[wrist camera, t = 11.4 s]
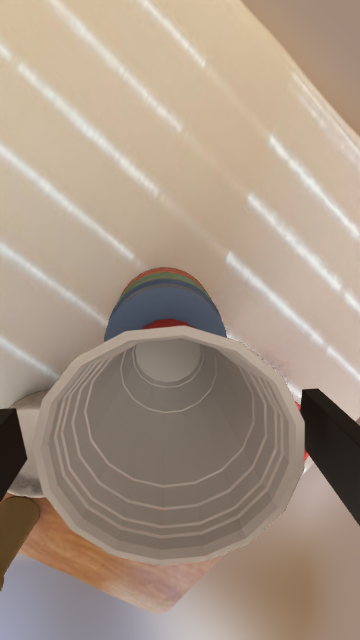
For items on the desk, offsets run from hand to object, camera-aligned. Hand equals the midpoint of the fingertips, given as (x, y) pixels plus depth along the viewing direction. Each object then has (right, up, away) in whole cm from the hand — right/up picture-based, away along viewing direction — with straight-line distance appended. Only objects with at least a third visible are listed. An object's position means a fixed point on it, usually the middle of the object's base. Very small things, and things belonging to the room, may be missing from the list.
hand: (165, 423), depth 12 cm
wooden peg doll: (-24, -24, +28) cm, 44 cm away
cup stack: (-1, +6, +21) cm, 22 cm away
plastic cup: (0, +2, +10) cm, 10 cm away
